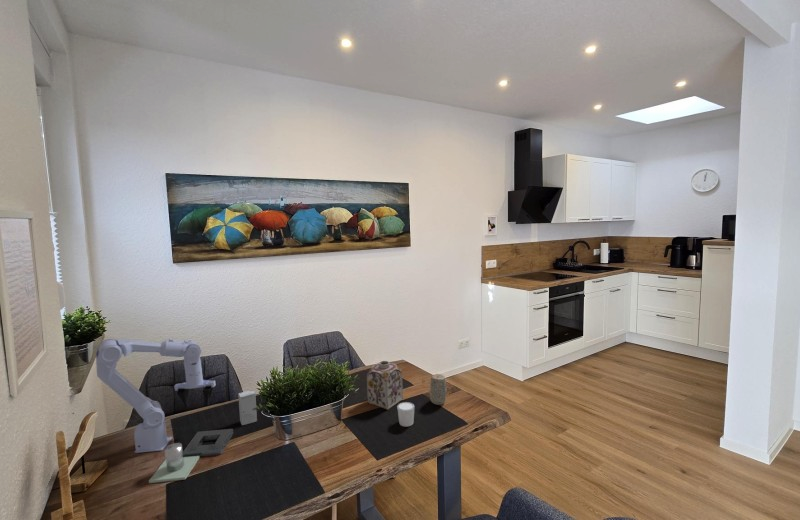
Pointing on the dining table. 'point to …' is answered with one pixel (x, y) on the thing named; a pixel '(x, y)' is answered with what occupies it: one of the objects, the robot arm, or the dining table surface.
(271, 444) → the dining table surface
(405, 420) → the white cup
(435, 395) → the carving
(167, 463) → the translucent grey cylinder
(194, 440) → the bore plate
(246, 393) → the skincare box
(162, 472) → the sage pad
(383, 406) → the decorative jar
